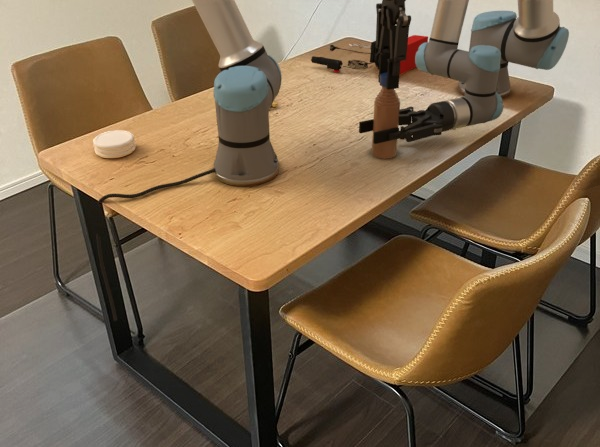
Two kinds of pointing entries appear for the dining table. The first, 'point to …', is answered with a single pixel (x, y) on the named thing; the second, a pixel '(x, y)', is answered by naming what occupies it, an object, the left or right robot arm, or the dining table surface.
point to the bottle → (385, 121)
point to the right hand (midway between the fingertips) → (367, 132)
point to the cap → (383, 79)
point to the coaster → (114, 144)
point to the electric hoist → (375, 56)
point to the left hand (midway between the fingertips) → (388, 84)
